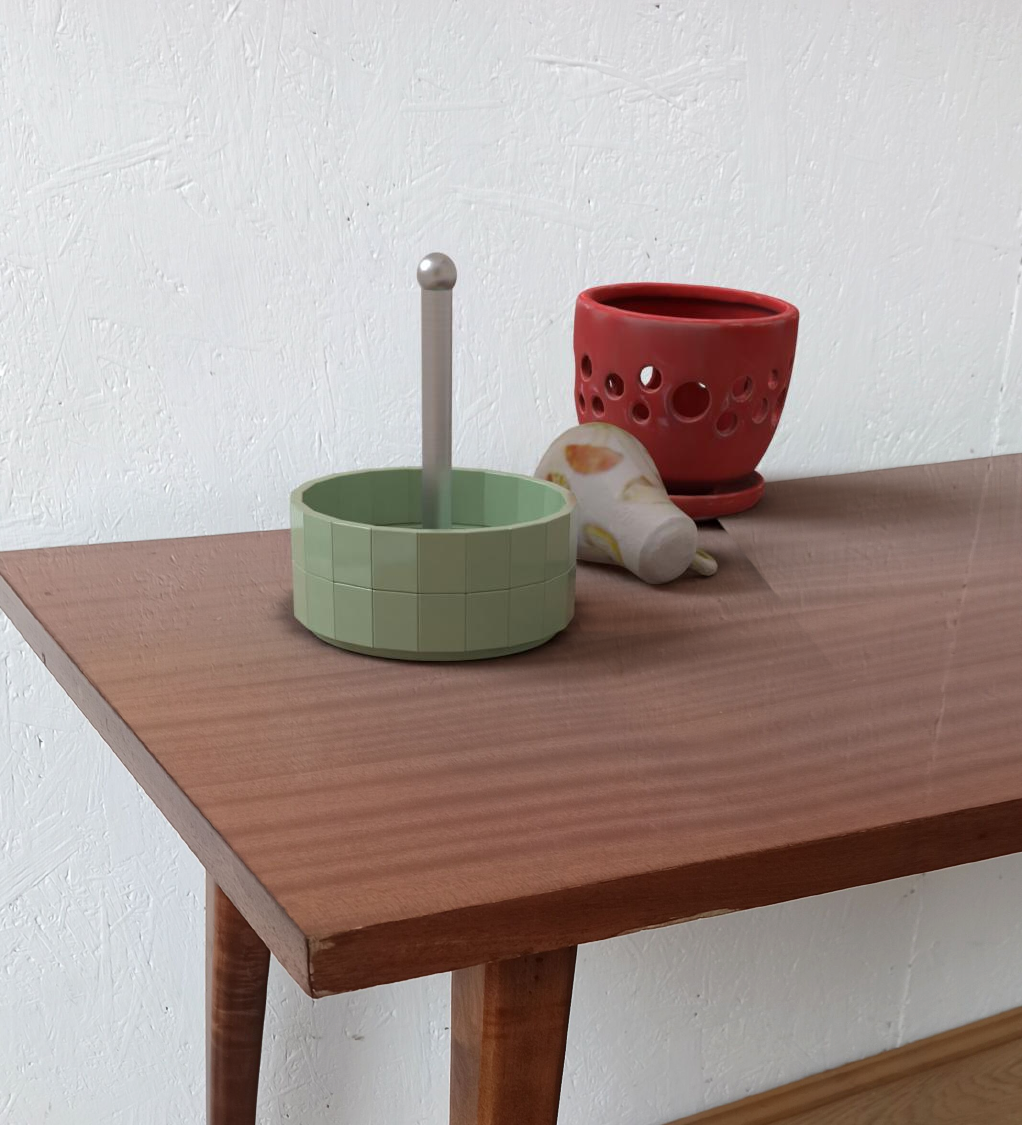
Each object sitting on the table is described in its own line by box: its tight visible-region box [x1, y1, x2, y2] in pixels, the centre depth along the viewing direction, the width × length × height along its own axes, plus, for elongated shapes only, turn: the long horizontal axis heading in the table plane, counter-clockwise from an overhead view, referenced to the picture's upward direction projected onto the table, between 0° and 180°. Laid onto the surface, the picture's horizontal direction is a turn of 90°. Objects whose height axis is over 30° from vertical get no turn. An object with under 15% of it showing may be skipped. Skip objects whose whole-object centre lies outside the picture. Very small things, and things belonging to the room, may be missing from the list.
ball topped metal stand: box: [416, 251, 458, 529], centre depth 82 cm, size 5×5×16 cm
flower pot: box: [572, 281, 800, 523], centre depth 105 cm, size 13×13×12 cm
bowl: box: [289, 465, 579, 662], centre depth 85 cm, size 14×14×6 cm
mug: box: [532, 422, 718, 585], centre depth 95 cm, size 8×10×10 cm
